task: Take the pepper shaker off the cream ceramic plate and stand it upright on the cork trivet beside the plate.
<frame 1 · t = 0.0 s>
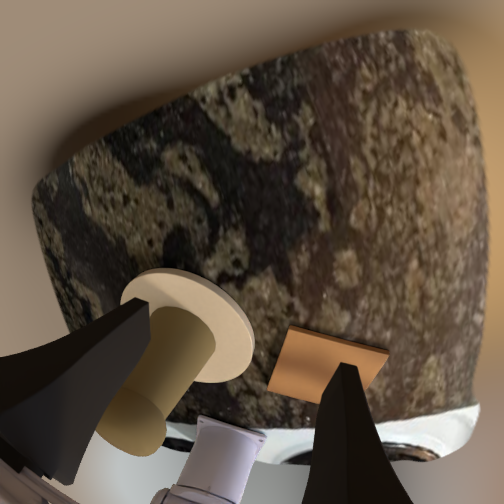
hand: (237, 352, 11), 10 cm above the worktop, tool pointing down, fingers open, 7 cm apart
cork trivet: (324, 371, 25), on the worktop
plate: (185, 329, 26), on the worktop
pepper shaker: (182, 333, 26), point 1 cm above the worktop, touching plate
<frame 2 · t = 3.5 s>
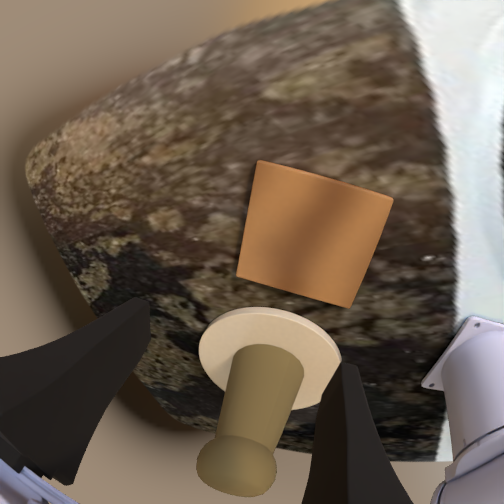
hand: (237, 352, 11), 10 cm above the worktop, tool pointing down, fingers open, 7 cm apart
cork trivet: (309, 237, 20), on the worktop
plate: (269, 362, 26), on the worktop
pepper shaker: (268, 368, 25), point 1 cm above the worktop, touching plate
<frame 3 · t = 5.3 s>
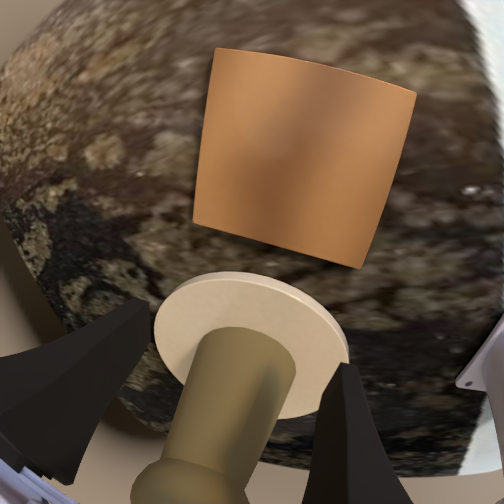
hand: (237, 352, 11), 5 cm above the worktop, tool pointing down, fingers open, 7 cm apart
cork trivet: (296, 157, 13), on the worktop
plate: (248, 355, 19), on the worktop
pepper shaker: (246, 362, 18), point 1 cm above the worktop, touching plate
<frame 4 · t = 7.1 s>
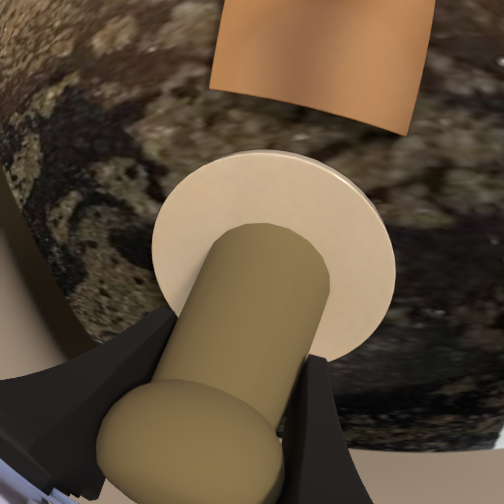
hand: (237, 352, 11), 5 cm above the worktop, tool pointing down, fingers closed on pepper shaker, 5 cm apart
cork trivet: (326, 15, 10), on the worktop
plate: (269, 273, 16), on the worktop
pepper shaker: (266, 280, 15), point 1 cm above the worktop, touching gripper, plate
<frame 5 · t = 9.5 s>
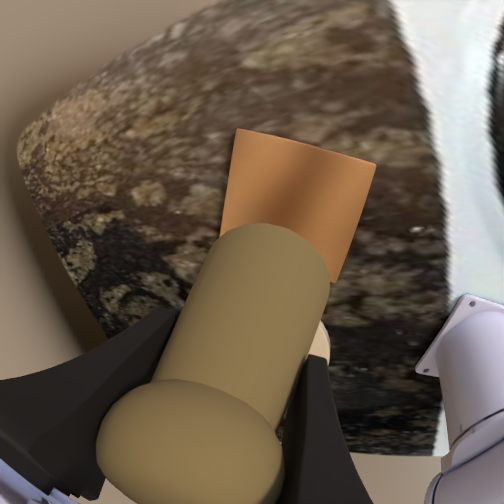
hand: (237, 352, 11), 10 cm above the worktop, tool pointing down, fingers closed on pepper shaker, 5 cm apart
cork trivet: (291, 207, 19), on the worktop
plate: (255, 344, 25), on the worktop
pepper shaker: (266, 280, 15), point 6 cm above the worktop, touching gripper
when the fingers open (5 cm above the worktop, at t = 11.7 s): pepper shaker stays where it is, resting on cork trivet.
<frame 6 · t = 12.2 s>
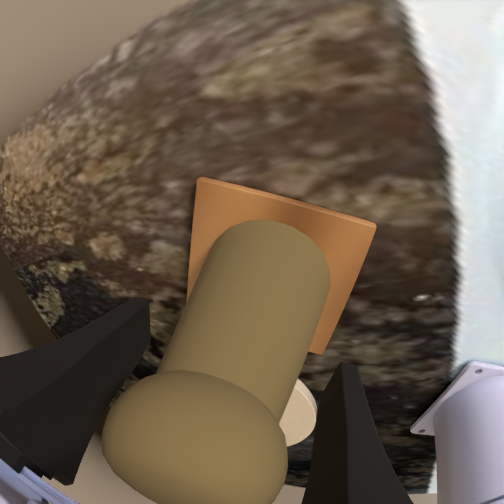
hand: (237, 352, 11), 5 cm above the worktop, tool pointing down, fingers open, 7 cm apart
cork trivet: (269, 272, 16), on the worktop
plate: (235, 402, 22), on the worktop
pepper shaker: (267, 276, 16), resting on cork trivet
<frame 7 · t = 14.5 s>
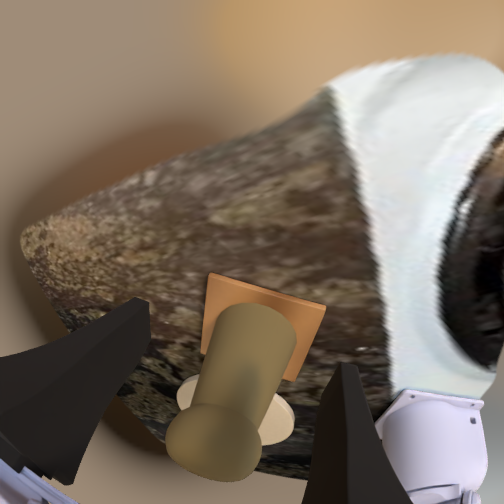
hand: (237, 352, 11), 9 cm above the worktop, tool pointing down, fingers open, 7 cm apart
cork trivet: (257, 331, 23), on the worktop
plate: (235, 411, 29), on the worktop
pepper shaker: (255, 334, 23), resting on cork trivet
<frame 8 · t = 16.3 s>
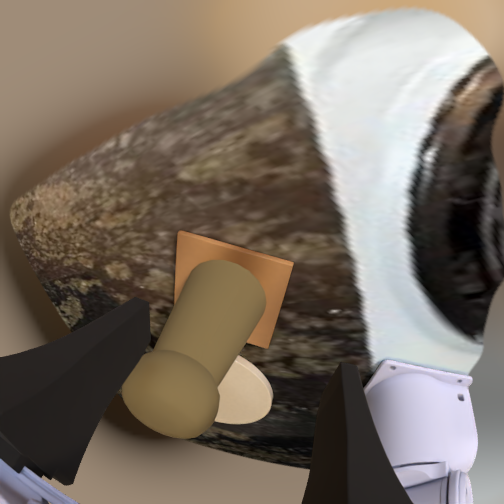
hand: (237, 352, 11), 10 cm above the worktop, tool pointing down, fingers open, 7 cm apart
cork trivet: (227, 292, 23), on the worktop
plate: (213, 384, 30), on the worktop
pepper shaker: (226, 294, 23), resting on cork trivet
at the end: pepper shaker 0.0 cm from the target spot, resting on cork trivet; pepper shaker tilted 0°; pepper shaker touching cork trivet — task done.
